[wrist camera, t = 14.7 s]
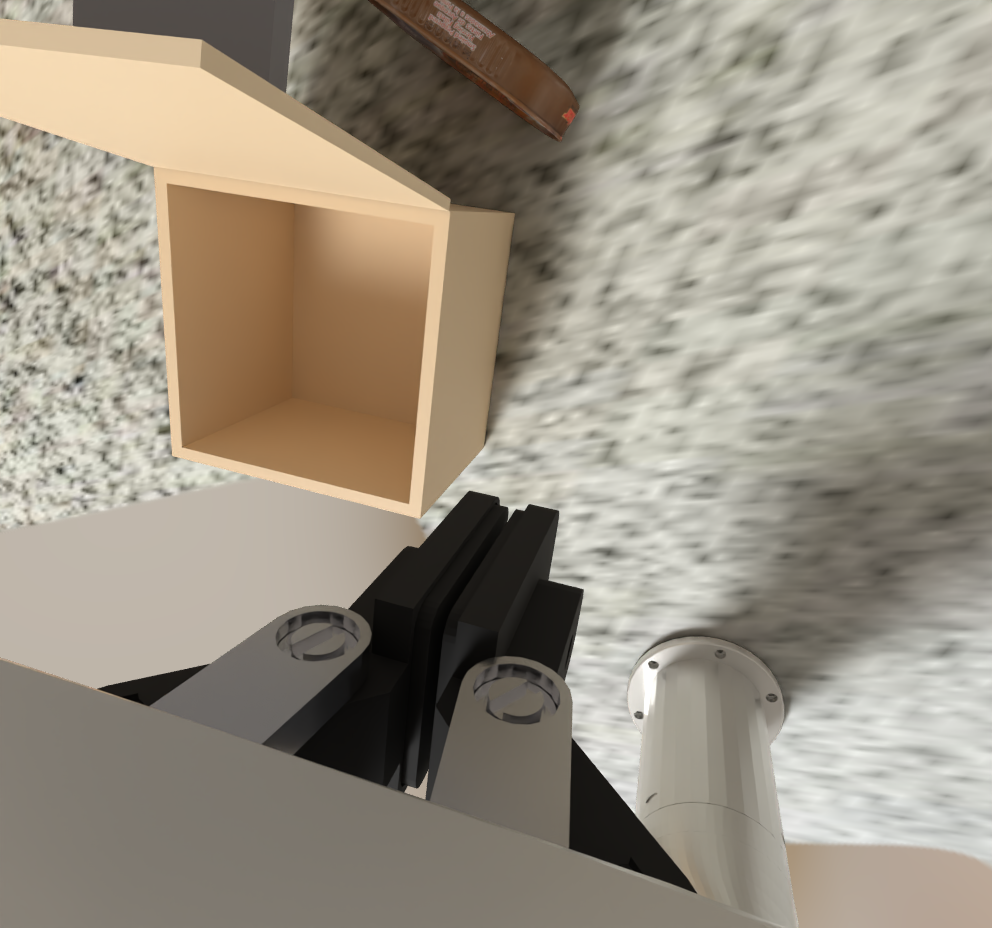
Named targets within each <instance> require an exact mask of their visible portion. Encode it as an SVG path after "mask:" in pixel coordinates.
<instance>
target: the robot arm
mask: <svg viewBox="0 0 992 928" xmlns="http://www.w3.org/2000/svg"><path fill="white" fill-rule="evenodd" d="M558 520H559V511H558V510H553V509H549V508H544V507H540V506H535V505H531V504H529V505H528V506H527V508H526V510H525V511H522V510H517V509H516V510H515V511H514V513H513V514H512V516H511V517H510V519H509V521H508V507H504V506H500V500H499V498H498V497H495V496H491V495H486V494H482V493H477V492H473V491H469V492H467V494H466V495H465V496H464V497H463V498H462V499H461V500H460V502H459V503H458V504H457V505H456V506H455V507H454V508H453V510H452V511H451V512H450V513H449V514H448V515H447V516H446V518H445V519H444V520H443V521H442V522H441V523H440V524H439V525H438V527H437V528H436V529H435V530H434V531H433V532H432V533H431V535H430V536H429V537H428V538H427V539H426V540H425V541H424V543H423V544H422V545H421V546H420V547H419V548H415V547H411V546H407V547H406V548H404V549H403V550H402V551H401V552H400V553H399V555H398V556H397V557H396V558H395V559H394V560H393V561H392V562H391V563H390V564H389V565H388V566H387V568H386V569H385V570H384V571H383V572H382V573H381V574H380V575H379V576H378V577H377V578H376V579H375V580H374V582H373V583H372V584H371V585H370V586H369V587H368V588H367V589H366V590H365V591H364V593H363V594H362V595H361V596H360V597H359V598H358V599H357V600H356V601H355V602H354V603H353V604H352V605H351V607H350V608H349V609H345V608H341V607H338V606H328V605H315V606H306V607H302V608H298V609H295V610H291V611H289V612H287V613H285V614H283V615H281V616H279V617H277V618H276V619H275V620H273V621H272V622H270V623H269V624H267V625H266V626H264V627H263V628H261V629H260V630H259V631H257V632H256V633H254V634H253V635H251V636H250V637H249V638H247V639H246V640H244V641H243V642H241V643H240V644H238V645H237V646H236V647H234V648H233V649H231V650H230V651H228V652H227V653H225V654H224V655H223V656H221V657H220V658H218V659H217V660H215V661H214V662H212V663H211V664H207V665H203V666H198V667H193V668H189V669H184V670H179V671H174V672H170V673H165V674H160V675H156V676H151V677H146V678H141V679H137V680H132V681H127V682H122V683H118V684H113V685H108V686H105V687H102V688H98V689H95V688H92V687H89V686H85V685H82V684H79V683H76V682H73V681H70V680H67V679H64V678H61V677H58V676H55V675H52V674H49V673H46V672H43V671H40V670H37V669H34V668H31V667H28V666H25V665H21V664H19V663H16V662H13V661H10V660H7V659H3V658H1V657H0V928H799V925H798V919H797V914H796V909H795V904H794V898H793V893H792V886H791V880H790V874H789V868H788V862H787V855H786V847H785V841H784V835H783V829H782V822H781V816H780V810H779V803H778V797H777V790H776V784H775V777H774V771H773V764H772V758H771V751H770V745H771V744H772V743H773V741H774V740H775V739H776V737H777V736H778V734H779V732H780V730H781V728H782V724H783V720H784V702H783V697H782V692H781V690H780V687H779V684H778V682H777V680H776V678H775V677H774V675H773V674H772V672H771V670H770V669H769V668H768V667H767V666H766V665H765V664H764V663H763V662H762V661H761V660H760V659H759V658H758V657H756V656H755V655H753V654H752V653H751V652H749V651H748V650H746V649H744V648H742V647H740V646H738V645H736V644H734V643H731V642H728V641H724V640H721V639H717V638H710V637H703V636H699V637H683V638H677V639H672V640H670V641H667V642H664V643H661V644H659V645H657V646H656V647H654V648H652V649H651V650H649V651H648V652H647V653H646V654H645V655H643V656H642V657H641V658H640V659H639V661H638V662H637V664H636V665H635V666H634V668H633V670H632V673H631V675H630V678H629V682H628V688H627V704H628V709H629V713H630V715H631V718H632V720H633V722H634V724H635V726H636V727H637V728H638V730H639V731H640V733H641V734H642V740H641V751H640V762H639V773H638V784H637V795H636V806H635V814H634V813H633V811H632V810H631V809H630V808H629V807H628V805H627V804H626V803H625V802H624V801H623V799H622V798H621V797H620V796H619V794H618V793H617V792H616V791H615V790H614V788H613V787H612V786H611V785H610V783H609V782H608V781H607V780H606V779H605V777H604V776H603V775H602V774H601V773H600V771H599V770H598V769H597V768H596V766H595V765H594V764H593V763H592V762H591V760H590V759H589V758H588V757H587V756H586V754H585V753H584V752H583V751H582V749H581V748H580V747H579V746H578V745H577V743H576V742H575V741H574V740H573V738H572V703H573V702H572V697H571V692H570V689H569V688H568V686H567V685H566V683H565V678H566V674H567V670H568V666H569V662H570V658H571V654H572V649H573V645H574V640H575V635H576V630H577V625H578V620H579V615H580V610H581V605H582V599H583V592H584V589H580V588H576V587H572V586H568V585H564V584H560V583H556V582H552V581H548V579H549V573H550V568H551V562H552V556H553V550H554V544H555V538H556V532H557V526H558ZM507 521H508V522H507ZM428 769H429V772H428V782H427V791H426V800H425V799H422V798H419V797H416V796H413V795H410V794H407V793H404V792H405V790H406V788H407V786H411V787H414V788H419V786H420V785H421V783H422V781H423V779H424V777H425V775H426V773H427V771H428Z"/></svg>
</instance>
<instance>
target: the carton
mask: <svg viewBox="0 0 992 928" xmlns="http://www.w3.org/2000/svg"><path fill="white" fill-rule="evenodd" d="M154 178H155V193H156V209H157V224H158V240H159V255H160V271H161V287H162V302H163V318H164V333H165V349H166V364H167V380H168V395H169V411H170V426H171V442H172V456H175V457H179V458H183V459H187V460H191V461H194V462H198V463H202V464H206V465H210V466H214V467H218V468H222V469H226V470H230V471H234V472H238V473H242V474H246V475H250V476H254V477H258V478H262V479H265V480H269V481H273V482H277V483H281V484H285V485H289V486H293V487H297V488H301V489H305V490H309V491H313V492H317V493H321V494H325V495H329V496H333V497H336V498H341V499H345V500H348V501H352V502H357V503H360V504H364V505H368V506H372V507H376V508H380V509H384V510H388V511H392V512H396V513H400V514H403V515H408V516H411V517H415V518H419V519H420V518H421V517H422V516H423V515H424V514H425V513H426V512H427V511H428V509H429V508H430V507H431V506H432V505H433V504H434V503H435V502H436V500H437V499H438V498H439V497H440V496H441V495H442V494H443V493H444V492H445V490H446V489H447V488H448V487H449V486H450V485H451V484H452V483H453V481H454V480H455V479H456V478H457V477H458V476H459V475H460V474H461V472H462V471H463V470H464V469H465V468H466V467H467V466H468V465H469V463H470V462H471V461H472V460H473V459H474V458H475V457H476V456H477V455H478V453H479V452H480V451H481V450H482V449H483V448H484V442H485V435H486V427H487V420H488V412H489V405H490V397H491V390H492V382H493V375H494V368H495V360H496V353H497V345H498V338H499V330H500V323H501V315H502V308H503V300H504V293H505V285H506V278H507V270H508V263H509V255H510V248H511V240H512V233H513V225H514V218H515V213H510V212H504V211H497V210H490V209H484V208H477V207H470V206H464V205H457V204H450V208H449V211H444V210H437V209H431V208H424V207H418V206H411V205H404V204H398V203H391V202H385V201H378V200H371V199H365V198H358V197H352V196H345V195H339V194H332V193H325V192H319V191H312V190H306V189H299V188H292V187H286V186H279V185H273V184H266V183H259V182H253V181H246V180H240V179H233V178H227V177H220V176H213V175H207V174H200V173H194V172H187V171H180V170H174V169H167V168H161V167H154Z"/></svg>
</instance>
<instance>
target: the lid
mask: <svg viewBox="0 0 992 928" xmlns="http://www.w3.org/2000/svg"><path fill="white" fill-rule="evenodd" d="M293 7H294V0H73V26H66V25H57V24H47V23H38V22H28V21H18V20H9V19H0V117H3V118H7V119H10V120H13V121H16V122H19V123H22V124H25V125H28V126H31V127H34V128H37V129H40V130H43V131H46V132H49V133H52V134H55V135H58V136H61V137H64V138H67V139H70V140H73V141H76V142H80V143H83V144H86V145H89V146H92V147H95V148H98V149H101V150H104V151H107V152H110V153H113V154H116V155H119V156H122V157H125V158H128V159H131V160H134V161H137V162H140V163H143V164H146V165H149V166H154V167H161V168H167V169H174V170H180V171H187V172H194V173H200V174H207V175H213V176H220V177H227V178H233V179H240V180H246V181H253V182H259V183H266V184H273V185H279V186H286V187H292V188H299V189H306V190H312V191H319V192H325V193H332V194H339V195H345V196H352V197H358V198H365V199H371V200H378V201H385V202H391V203H398V204H404V205H411V206H418V207H424V208H431V209H437V210H444V211H449V208H450V201H451V199H450V198H448V197H447V196H445V195H444V194H442V193H441V192H439V191H438V190H436V189H434V188H433V187H431V186H430V185H428V184H427V183H425V182H423V181H422V180H420V179H419V178H417V177H416V176H414V175H413V174H411V173H409V172H408V171H406V170H405V169H403V168H402V167H400V166H398V165H397V164H395V163H394V162H392V161H391V160H389V159H388V158H386V157H384V156H383V155H381V154H380V153H378V152H377V151H375V150H373V149H372V148H370V147H369V146H367V145H366V144H364V143H363V142H361V141H359V140H358V139H356V138H355V137H353V136H352V135H350V134H348V133H347V132H345V131H344V130H342V129H341V128H339V127H338V126H336V125H334V124H333V123H331V122H330V121H328V120H327V119H325V118H323V117H322V116H320V115H319V114H317V113H316V112H314V111H312V110H311V109H309V108H308V107H306V106H305V105H303V104H302V103H300V102H298V101H297V100H295V99H294V98H292V97H291V96H289V95H287V94H286V86H287V75H288V64H289V52H290V41H291V30H292V18H293Z"/></svg>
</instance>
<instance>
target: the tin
mask: <svg viewBox="0 0 992 928" xmlns="http://www.w3.org/2000/svg"><path fill="white" fill-rule="evenodd" d="M368 1H369V2H370V3H372V4H373V5H374V6H375V7H377V8H378V9H379V10H380V11H381V12H383V13H384V14H385V15H386V16H387V17H389V18H390V19H391V20H392V21H393V22H395V23H396V24H397V25H398V26H399V27H400V28H402V29H403V30H404V31H405V32H406V33H408V34H409V35H410V36H412V37H413V38H414V39H416V40H417V41H418V42H419V43H421V44H422V45H423V46H425V47H426V48H428V49H429V50H431V51H432V52H433V53H434V54H436V55H437V56H438V57H440V58H441V59H442V60H444V61H445V62H446V63H448V64H449V65H450V66H452V67H453V68H454V69H456V70H457V71H459V72H460V73H461V74H463V75H464V76H465V77H467V78H468V79H470V80H471V81H472V82H474V83H475V84H476V85H478V86H479V87H480V88H482V89H483V90H484V91H486V92H487V93H488V94H490V95H491V96H493V97H494V98H495V99H497V100H498V101H499V102H501V103H502V104H503V105H505V106H506V107H507V108H509V109H510V110H511V111H513V112H514V113H516V114H517V115H518V116H520V117H521V118H522V119H524V120H525V121H527V122H528V123H530V124H531V125H533V126H534V127H535V128H537V129H538V130H540V131H541V132H543V133H544V134H546V135H547V136H549V137H551V138H552V139H554V140H556V141H558V142H561V141H562V137H563V135H564V133H565V131H566V130H567V128H568V127H569V125H570V124H571V122H572V121H573V119H574V117H575V115H576V114H577V112H578V110H579V104H578V102H577V100H576V99H575V97H574V95H573V92H572V91H571V89H570V88H569V86H568V85H567V84H566V83H565V82H564V81H563V80H562V79H561V78H560V77H559V76H558V75H557V74H556V73H555V72H553V71H552V70H551V69H550V68H549V67H548V66H547V65H546V64H544V63H543V62H542V61H541V60H540V59H538V58H537V57H536V56H535V55H533V54H532V53H531V52H530V51H528V50H527V49H526V48H524V47H523V46H522V45H521V44H519V43H518V42H517V41H516V40H514V39H513V38H512V37H510V36H509V35H507V34H506V33H505V32H504V31H502V30H501V29H499V28H498V27H497V26H495V25H494V24H493V23H491V22H490V21H489V20H487V19H486V18H485V17H483V16H482V15H481V14H479V13H478V12H477V11H475V10H474V9H473V8H471V7H470V6H469V5H467V4H466V3H464V2H463V1H462V0H368Z"/></svg>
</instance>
